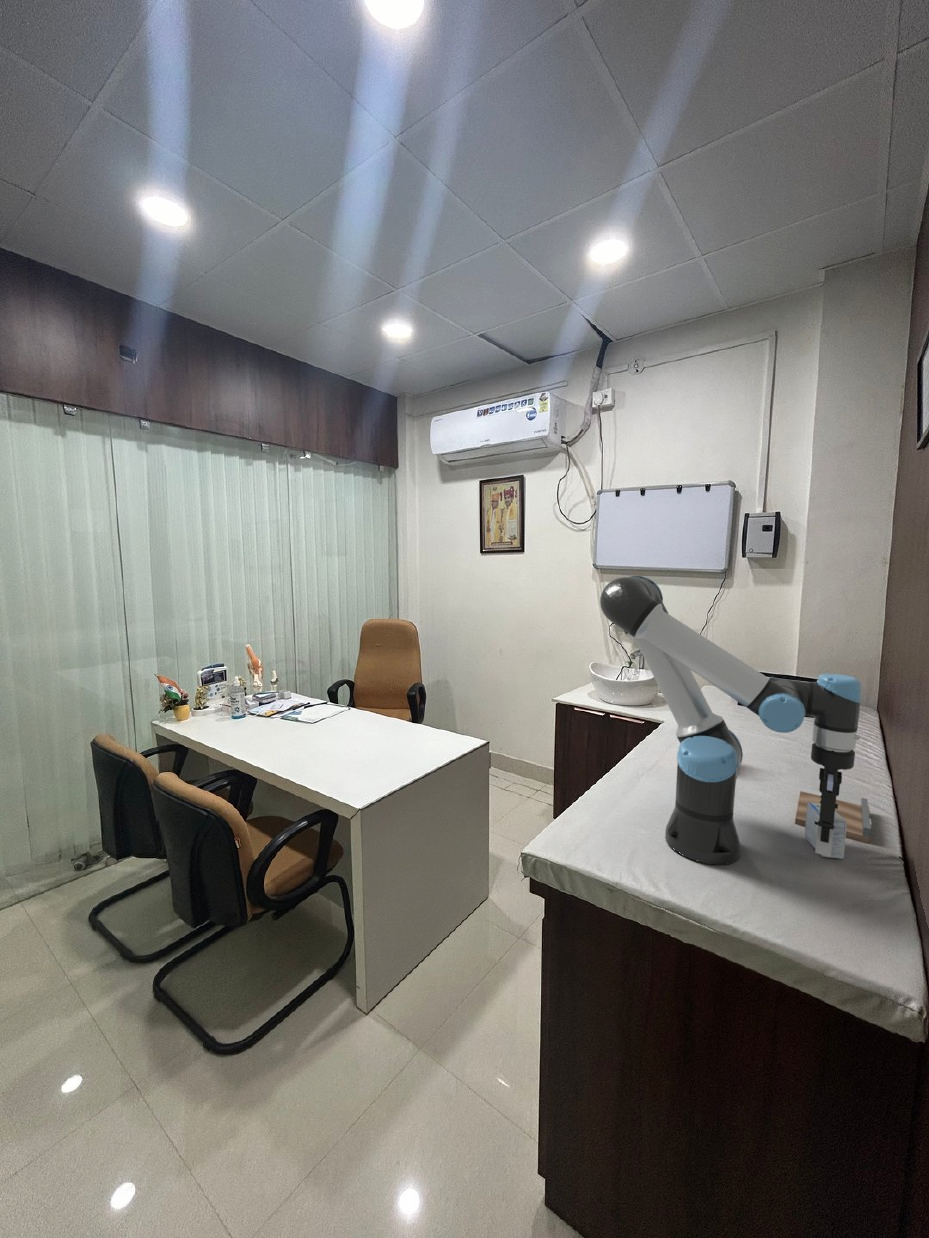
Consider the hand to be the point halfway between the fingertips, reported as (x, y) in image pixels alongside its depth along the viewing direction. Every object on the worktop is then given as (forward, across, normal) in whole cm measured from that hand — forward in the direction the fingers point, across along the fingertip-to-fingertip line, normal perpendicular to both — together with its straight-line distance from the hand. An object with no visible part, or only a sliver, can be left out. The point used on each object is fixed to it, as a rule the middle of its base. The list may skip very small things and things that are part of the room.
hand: (823, 844), depth 110 cm
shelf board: (+1, +18, -1) cm, 18 cm away
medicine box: (+1, 0, 0) cm, 1 cm away
